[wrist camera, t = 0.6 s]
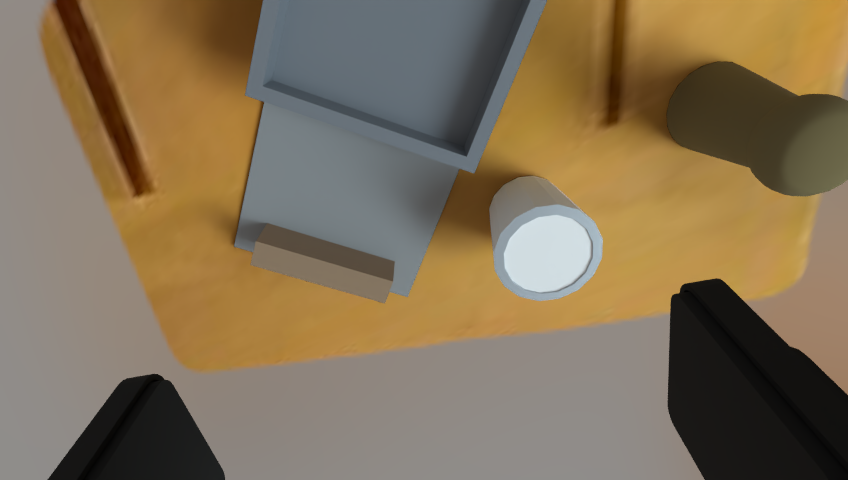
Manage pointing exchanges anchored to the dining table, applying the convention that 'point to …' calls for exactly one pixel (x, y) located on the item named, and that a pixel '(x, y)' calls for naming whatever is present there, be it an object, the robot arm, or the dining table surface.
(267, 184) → the track
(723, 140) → the olive pepper shaker
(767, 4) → the dining table surface
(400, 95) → the cart
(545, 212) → the white tapered cup
